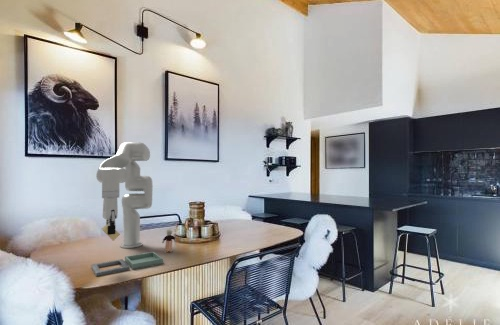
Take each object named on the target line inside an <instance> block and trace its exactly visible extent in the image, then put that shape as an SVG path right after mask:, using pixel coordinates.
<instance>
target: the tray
mask: <svg viewBox="0 0 500 325" xmlns="http://www.w3.org/2000/svg"><path fill="white" fill-rule="evenodd" d="M124 261H125V262H126V263H127V264H128V265H129V267H130V269H131V270H132V271H133V270H137V269H143V268H147V267H152V266H157V265H158V266H159V265H162V264H164V258H163V257H162V256H161V255H159V254H157V253H156V252H154V251H150V252H143V253H138V254H132V255H131V254H130V255H128V256H127V255H126V256H124Z"/></svg>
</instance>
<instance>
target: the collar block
mask: <svg viewBox="0 0 500 325" xmlns="http://www.w3.org/2000/svg"><path fill="white" fill-rule="evenodd" d="M115 265H119V267H113V268H106V269H103V270H101V268H105V267H110V266H115ZM90 266H91V270H92V271H93V273H94V275H95V277H100V276H106V275H111V274H115V273H116V274H117V273H121V272H122V273H123V272H126V271H130V269H131V267H130V266H129V265H128V264H127V263H126V262H125V259H123V258H121V259H116V260H115V259H114V260H109V261H104V262H99V263H91V264H90Z"/></svg>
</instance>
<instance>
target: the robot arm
mask: <svg viewBox="0 0 500 325" xmlns="http://www.w3.org/2000/svg"><path fill="white" fill-rule="evenodd" d="M150 151H151V150H150V149H149V147H148V146H147V145H146V144H145V143H143V142H135V141H134V142H133V141H132V142H130V141H128V142H127V141H126V142H123V143H121V144H120V145H119V147H118V150H117V151H116V154H115V155H113V156H111V157H110V158H109V157H108V158H107V159H106V160H103V161H102V162H101V163H100V165H99V166H98V169H97V170H96V179H97V181H98V182H99V184H100V183H101V198H102V199H103V201H102V218H103V219H104V220H105V225H107V224H108V223H109V226H108V235H111V234H115V230H116V219H118V215H119V214H118V210H119V209H118V208H119V207H118V198H120V184H123V183H124V187H125V190H126V191H128V192H136V193H126V194H123V195H122V197H121V207H122V214H123V215H122V217H123V218H122V242H121V243H120V244H119V246H120V248H122V249H133V248H134V249H135V248H139V247H141V246H143V242H142V241H141V235H140V234H141V216H140V214H139V212H138V211H137V210H148V209H151V207H152V205H153V179H152V177H151V176H149V175H141V167H140V165H139V164H138V163H137V162H147V161H149V160H150V158H151V152H150ZM137 192H143V193H137ZM108 235H107V236H108Z"/></svg>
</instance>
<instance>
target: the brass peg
mask: <svg viewBox="0 0 500 325" xmlns="http://www.w3.org/2000/svg"><path fill="white" fill-rule="evenodd" d="M108 226H109V223H108V224H107V225H106V224H105V225H104V226H103V227H102V228H101V231H103V232H104V234H106V235H107V236H108V238H109V239H111V240H112V241H115V240H116V239H118V237H119V236H120V235H121V234H120V233H119V232H118V230H116V229H115V234H111V235H108Z"/></svg>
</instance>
